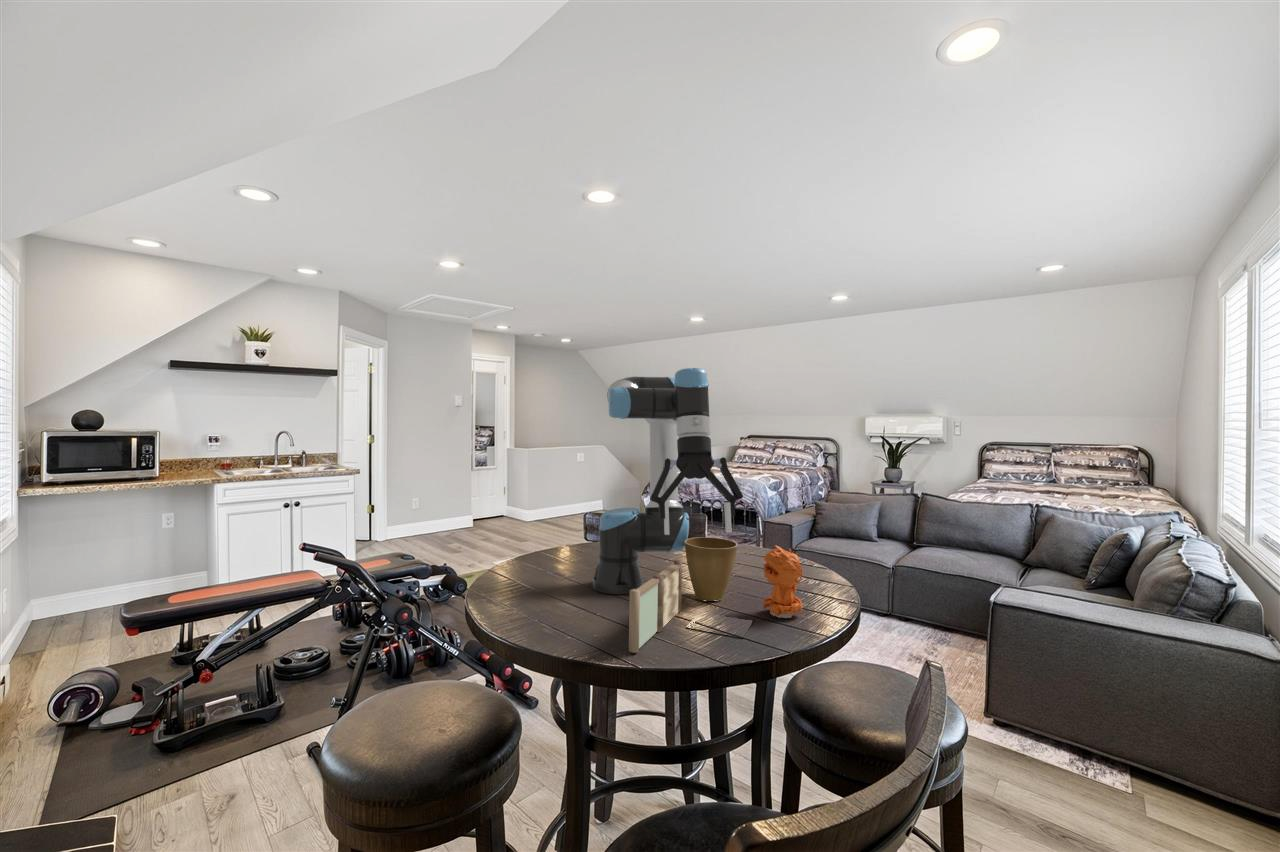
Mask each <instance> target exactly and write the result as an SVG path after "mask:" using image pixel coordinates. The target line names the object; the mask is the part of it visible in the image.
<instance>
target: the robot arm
mask: <svg viewBox="0 0 1280 852" xmlns="http://www.w3.org/2000/svg"><path fill="white" fill-rule="evenodd" d="M606 397H607V402H608V415H609V417H611V418H614V419H621V420H626V419H643V420H644V421H645V422H646V423H647V424H648V425H649V502H648V503H647V504H646V505H645V508H644V509H645V511H644V512H640V510H639V508H637V507H618V508H612V509H609V510H606V511H604V512H603V513H601V515H600V517H599V527H598V530H599V546H598V547H599V551H598V552H599V553H598V554H599V555H598V557H599V558H598V564H597V566H596V569H595V572H594V576H593V578H592V588H593V590H595V591H596V592H598V593H599V592H600V593H602V594H606V595H607V594H609V595H630V590H631V589H637V588H639V587H640V586H642V585H643V584H644V578H643V576H642V571H641V568H640V564H639V562H638V561H639V560H638V559H639V557H638V556H639V553H668V554H669V553H674V552H675V553H677V552H681V551H684V550H685V540H687V539H689V530H690V517H689V514H688V512H684V506H683V505H682V503H680V501H679V487H678V486H679V485H680V484H681V482H682V481H683V480H684V479H685V478H686V479H688V480H693V479H698V480H702V479H704V478H706V480H707V481H709V482H710V483H711V484H712V485H713V487H714V488H715V489H716V490H717V491H718V492H719V493H720V495H721V496H722V497H723V498H724V499H725V500H726V501H727V502H723V503H724V504H723V506H724V507H723V509H724V527H725V529H724V530H725V533H728V534H730V533H731V534H732V533H733V530H732V529H733V528H732V527H733V526H732V524H733V523H732V518H735V516H736V502H737V501H739V500H741V499H743V497H744V495H743V493H742V491H741V489H740V487H739V486H738V484H737V482H736V480H735V478H734V477H733V475H732V473H731V471H730V469H729V467H728V463H727V458H726V457H721V458H715V459H714V458H713V456H712V440H711V437H709V436H710V435H711V425H710V423H711V422H710V399H709V398H710V397H709V380H708V373H707V371H706V370H705V369H703V368H698V367H685V368H681V369H679V370H677V371H676V372H675V374H674V377H669V376H629V377H624V378H621V379H617V380H615V381H614V382H613V383H612V384H610V385H609V388H608V389H607V396H606ZM678 437H679V438H678ZM714 465H715V466H716V468H717V469H719V470H720V473H721V474H722V477H723V478H724V480H725V483H726V484H727V485H728V487H729V489H730V491H731V492H730V491H729V489H727V488H726V486H725V485H724V484H723V483H722V482H721V481H720V479H718V478H717V477H716V475H715V474H714V472H713V471H712V468H713V467H714ZM678 470H679V471H680V472H678Z"/></svg>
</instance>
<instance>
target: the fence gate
mask: <svg viewBox="0 0 1280 852" xmlns="http://www.w3.org/2000/svg"><path fill="white" fill-rule="evenodd" d="M658 583H659V579H653V577H652V578H651V579H649V580H647V581H646V582H644V583H643V585H642V586H640V587H639V588H637V589H631V590H630V594H629V611H628V612H629V614H628V615H629V616H628V617H629V619H628V621H629V622H628V652H629V653H632V654H633V653H634V654H635V653H639V651H640V649H641V647H642V646H644V645H645V643H647V642H648V641H649V640H650V639H651V638H652V637H653V636H654V635H656V632H657V610H658Z"/></svg>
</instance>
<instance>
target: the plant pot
mask: <svg viewBox="0 0 1280 852" xmlns="http://www.w3.org/2000/svg"><path fill="white" fill-rule="evenodd" d="M684 550H685V557H686V564H687V570H688V574H689V578H690V581H691V586H692V590H693V592H694V595H695V597H696V600H698V599H700V600H699V601H701V600H706V601H714V600H719V599H722V600H723V598H724V596H725V594H726V593H725V592H726V591H727V588H728V586H729V583H730V580H731V576H732V572H733V568H734V566H735V565H734V564H735V560H736V555H737V550H738V543H737V542H736V541H733V540H730V539H728V538H720V537H711V536H709V537H708V536H705V537H704V536H699V537H691V538H687V540H685V547H684Z"/></svg>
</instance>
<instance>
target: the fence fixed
mask: <svg viewBox="0 0 1280 852" xmlns="http://www.w3.org/2000/svg"><path fill="white" fill-rule="evenodd" d="M652 578H653V579H659V583H658V610H657V632H660V633H662V632H661V631H664V628H665V627H666V626H667V625H668V624H669V623H670V622H671V621H672V620H673V619H674V618H675V617H676V616H677V615H678V614H677V613H679V614H681V613H682V602H683V601H682V597H683V596H682V593H683V589H682V588H683V560H681V559H675V560H673V563H672V564H671V565H669V566H668V567H667V568H665V569H664V570H661V572H659V573H658V574H654V575H653V576H652ZM680 612H681V613H680ZM676 614H677V615H676ZM675 615H676V616H675ZM674 616H675V617H674ZM673 617H674V618H673ZM672 618H673V619H672ZM671 619H672V620H671ZM670 620H671V621H670ZM669 621H670V622H669ZM668 622H669V623H668ZM667 623H668V624H667ZM666 624H667V625H666ZM665 625H666V626H665ZM664 626H665V627H664ZM663 627H664V628H663Z"/></svg>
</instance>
